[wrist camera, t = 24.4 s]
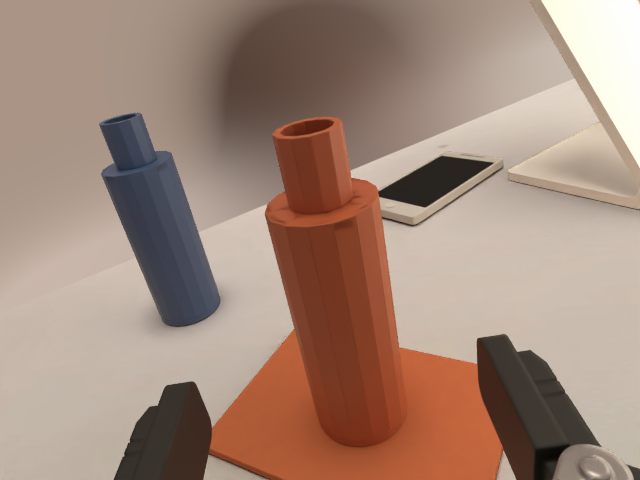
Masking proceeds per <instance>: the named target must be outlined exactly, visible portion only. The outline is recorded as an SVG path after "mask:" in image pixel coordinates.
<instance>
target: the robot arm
mask: <svg viewBox="0 0 640 480" xmlns="http://www.w3.org/2000/svg"><path fill="white" fill-rule="evenodd" d="M477 365H478V383H479V389H480V393H481V396H482V399H483V402H484V405H485V407H486V409H487V412H488V414H489V416H490V419H491V421H492V423H493V426H494V428H495V430H496V433H497V435H498V437H499V440H500V442H501V444H502V447H503V449H504V451H505V454H506V456H507V458H508V461H509V463H510V466H511V468H512V470H513V473H514V475H515V477H516V480H640V469H639V468H635V467H632V466H630V465H627V464H625V462H624V461H623V460H622V459H620V458H619V457H618V456H617V455H615V454H614V453H612V452H610V451H609V450H607V449H604V448H602V447H601V445H600V444H599V443H598V441H597V440H596V438H595V437H594V435H593V434H592V432H591V431H590V429H589V428H588V426H587V424H586V423H585V421H584V420H583V418H582V417H581V415H580V414H579V412H578V410H577V409H576V407H575V406H574V404H573V403H572V401H571V400H570V398H569V396H568V395H567V394H565V390H564V389H563V387H562V386H561V384H560V382H559V381H557V378H556V376H555V375H554V373H553V372H552V370H551V368H550V367H549V365H548V364H547V362H545V361H544V360H543V359H541V358H540V357H539V356H537V355H536V354H535V353H533V352H532V351H531V350H528V351H521V352H517V351H516V350H515V348H514V346H513V344H512V343H511V341H510V339H509V338H508V336H507V335H506V334H502V335H496V336H489V337H483V338H478V339H477ZM211 440H212V426H211V420H210V417H209V415H208V412H207V410H206V407H205V405H204V402H203V400H202V397H201V395H200V393H199V390H198V388H197V385H196V384H195V383H194V382H185V383H179V384H172V385H167V386H166V387H165V388H164V390H163V393H162V396H161V399H160V401H159V404H158V406H152V407H149V408H148V409H147V411H146V412H145V413H144V414H143V415H142V417H141V418H140V419H139V420H138V422H137V423H136V425H135V428H134V430H133V433H132V435H131V438H130V443H128V445H127V448H126V450H125V453H124V454H125V456H124V457H123V458H122V460H121V463H120V465H119V468H118V470H117V473H116V475H115V478H114V480H203V477H204V473H205V468H206V463H207V459H208V454H209V449H210V445H211Z"/></svg>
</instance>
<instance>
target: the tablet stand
mask: <svg viewBox="0 0 640 480" xmlns="http://www.w3.org/2000/svg"><path fill="white" fill-rule="evenodd" d="M530 3H531V4H532V6H533V8H534V9H535V11H536V13H537V14H538V16H539V18H540V20H541V21H542V23H543V25H544V26H545V28H546V30H547V32H548V33H549V35H550V37H551V38H552V40H553V42H554V44H555V45H556V47H557V48H558V50H559V52H560V54H561V55H562V57H563V59H564V61H565V62H566V64H567V66H568V67H569V69H570V71H571V73H572V74H573V76H574V78H575V79H576V81H577V83H578V84H579V86H580V88H581V90H582V91H583V93H584V95H585V96H586V98H587V100H588V102H589V103H590V105H591V107H592V108H593V110H594V112H595V113H596V115H597V117H598V119H599V120H600V122H598V123H596V124H594V125H592V126H590V127H588V128H587V129H585V130H583V131H581V132H579V133H577V134H575V135H573V136H571V137H569V138H567V139H566V140H564V141H562V142H560V143H558V144H556V145H554V146H552V147H550V148H548V149H546V150H545V151H543V152H541V153H539V154H537V155H535V156H533V157H531V158H529V159H527V160H525V161H524V162H522V163H520V164H518V165H516V166H514V167H512V168H510V169H509V170H508V179H509V180H511V181H515V182H520V183H524V184H528V185H533V186H537V187H542V188H546V189H550V190H555V191H559V192H564V193H568V194H573V195H577V196H581V197H586V198H590V199H595V200H599V201H603V202H608V203H612V204H617V205H621V206H626V207H630V208H634V209H639V210H640V0H530Z"/></svg>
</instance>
